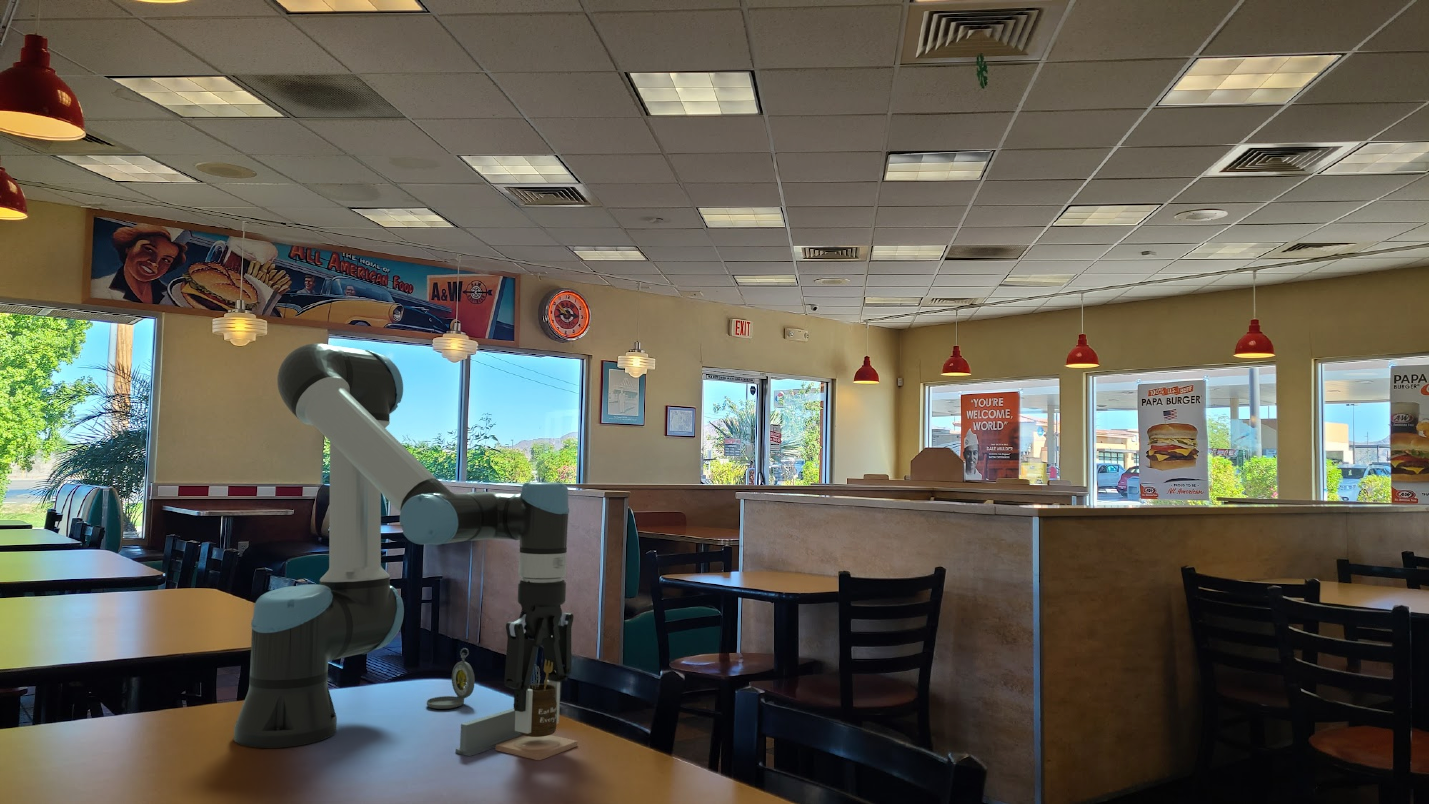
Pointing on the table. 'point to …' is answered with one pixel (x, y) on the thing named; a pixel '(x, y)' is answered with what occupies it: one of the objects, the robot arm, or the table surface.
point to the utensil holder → (543, 706)
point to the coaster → (536, 746)
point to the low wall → (487, 732)
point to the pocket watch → (457, 686)
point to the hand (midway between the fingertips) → (537, 726)
